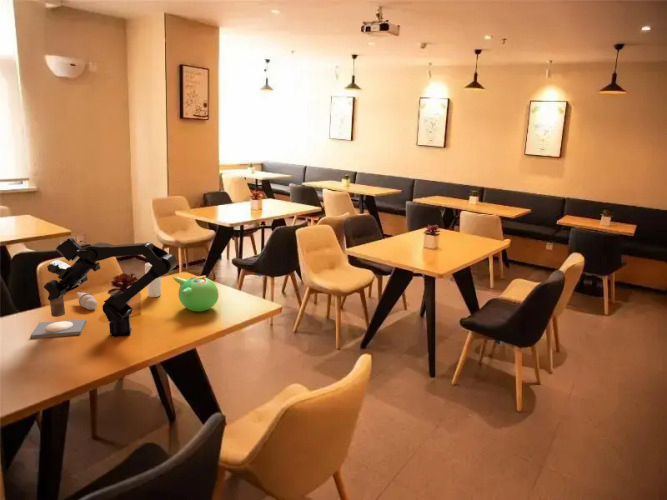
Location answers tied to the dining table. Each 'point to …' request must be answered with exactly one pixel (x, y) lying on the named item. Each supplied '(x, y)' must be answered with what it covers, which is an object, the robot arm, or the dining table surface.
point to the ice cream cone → (87, 300)
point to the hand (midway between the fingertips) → (52, 297)
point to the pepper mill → (57, 307)
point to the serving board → (58, 328)
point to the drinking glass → (153, 284)
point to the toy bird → (197, 293)
